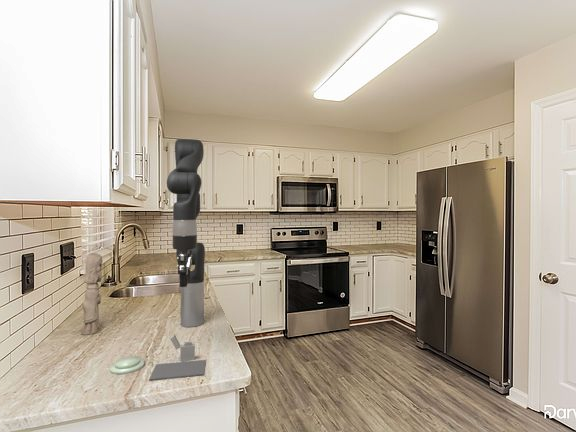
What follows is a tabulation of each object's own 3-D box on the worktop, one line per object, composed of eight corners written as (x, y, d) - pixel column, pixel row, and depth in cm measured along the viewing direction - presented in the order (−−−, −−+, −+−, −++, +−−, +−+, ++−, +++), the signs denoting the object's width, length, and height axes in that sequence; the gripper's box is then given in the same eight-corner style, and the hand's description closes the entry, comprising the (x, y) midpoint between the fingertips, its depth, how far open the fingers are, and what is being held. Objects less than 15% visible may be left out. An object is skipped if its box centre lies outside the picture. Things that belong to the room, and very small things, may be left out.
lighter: (194, 357, 98) (194, 331, 98) (194, 359, 97) (194, 333, 97) (170, 360, 96) (170, 334, 96) (169, 363, 94) (169, 336, 94)
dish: (115, 361, 96) (115, 355, 96) (147, 358, 97) (147, 352, 97) (104, 375, 87) (104, 369, 87) (140, 372, 89) (140, 366, 89)
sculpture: (102, 332, 120) (102, 253, 121) (80, 336, 117) (80, 254, 117) (102, 327, 127) (102, 251, 127) (81, 330, 123) (82, 252, 124)
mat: (156, 365, 93) (156, 364, 93) (205, 361, 96) (205, 359, 96) (149, 380, 84) (149, 379, 84) (203, 375, 87) (203, 373, 87)
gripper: (176, 232, 109) (176, 279, 109) (168, 235, 95) (169, 289, 95) (198, 232, 111) (199, 279, 111) (194, 235, 97) (195, 288, 97)
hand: (185, 283), depth 103 cm, fingers open, 8 cm apart
